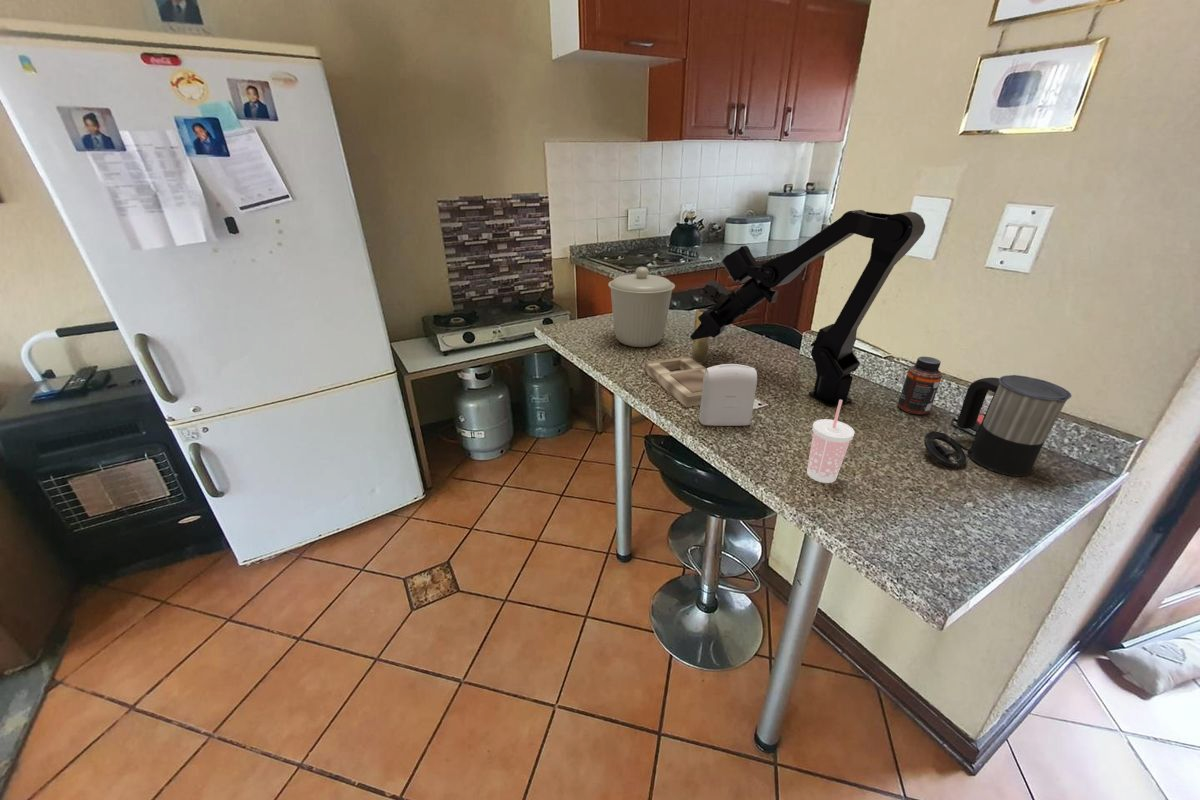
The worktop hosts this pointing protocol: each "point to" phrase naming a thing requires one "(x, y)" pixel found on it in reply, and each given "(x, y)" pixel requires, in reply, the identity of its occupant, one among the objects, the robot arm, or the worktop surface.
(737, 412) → the photo printer
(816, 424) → the beverage cup
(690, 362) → the jig plate
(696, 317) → the cylinder
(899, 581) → the worktop surface
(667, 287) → the canister
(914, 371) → the supplement bottle
